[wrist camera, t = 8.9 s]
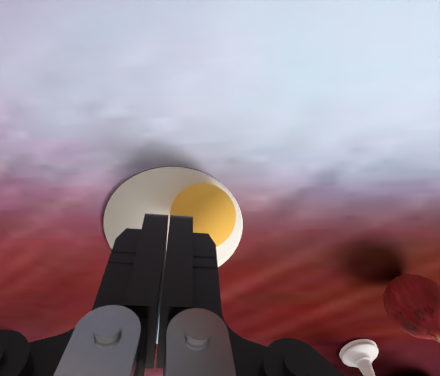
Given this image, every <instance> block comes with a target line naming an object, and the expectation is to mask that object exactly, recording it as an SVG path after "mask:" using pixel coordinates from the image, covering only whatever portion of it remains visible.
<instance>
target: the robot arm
mask: <svg viewBox="0 0 440 376" xmlns="http://www.w3.org/2000/svg"><path fill="white" fill-rule="evenodd" d="M167 231H168V215H161V214H147V213H145V216H144V220H143V224H142V229H130V228H126V229H125V230H124V231H123V232H122V233H121V234H120V235H119V236H118V237H117V238H116V239H115V242H114V245H113V248H112V252H111V254H110V257H109V260H108V265H107V266H106V269H105V272H104V275H103V278H102V281H101V284H100V287H99V291H98V294H97V297H96V300H95V303H94V306H93V308H92V310H91V311H90V312H89V313H88V314H86V315H85V316H84V317H83V318H82V319H81V320H80V321H79V322H78V324H77V326H76V327H75V328H73V329H71V330H70V331H68V332H65V333H63V334H60V335H57V336H53V337H49V338H45V339H41V340H37V341H33V342H29V343H28V341H27V339H26V338H25V337H24V336H23V335H22V334H21V333H19V332H17V331H13V330H5V329H4V330H0V376H144V372H145V368H154V359H155V350H156V341H157V332H158V347H157V363H156V368H164V369H163V376H344V375H343V374H342V373H340V372H339V371H338V370H337V369H336V368H335V367H334V366H332V365H331V364H330V363H329V362H328V361H327V360H326V359H325V358H323V357H322V356H321V355H320V354H319V353H318V352H317V351H316V350H314V349H313V348H312V347H311V346H309V345H308V344H306V343H304V342H302V341H300V340H296V339H291V338H283V339H279V340H276V341H274V342H273V343H271V344H270V345H269V346H268V347H266V346H263V345H260V344H257V343H254V342H251V341H248V340H246V339H244V338H242V337H240V336H238V335H237V334H236V333H234V332H233V331H232V330H231V329H230V328H229V327H228V325H227V324H226V322H225V320H224V318H223V315H222V310H221V298H220V287H219V275H218V264H217V252H216V244H215V243H214V241H213V240H212V238H211V237H210V235H209V234H208V233H193V217H191V216H177V215H170V223H169V232H168V241H167ZM166 246H167V249H166ZM159 315H160V316H159ZM158 324H159V331H158Z"/></svg>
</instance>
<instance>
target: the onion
mask: <svg viewBox="0 0 440 376" xmlns="http://www.w3.org/2000/svg"><path fill="white" fill-rule="evenodd" d="M383 301H384V306H385V310H386V312H387V315H388V316H389V318H390V319H391V321H392V322H393V323H394V324H396V325H397V326H398V327H399V328H400V329H402V330H403V331H405V332H406V333H408V334H410V335H412V336H414V337H417V338H423V339H434V340H436V341H438V342H440V286H439V285H438V284H436V283H435V282H434V281H432V280H429V279H427V278H424V277H422V276H419V275H410V274H405V275H400V276H397V277H395V278H394V279H393V280H392V281H391V282H390V283H389V284H388V286H387V288H386V290H385V292H384V295H383Z"/></svg>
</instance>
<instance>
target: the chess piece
mask: <svg viewBox="0 0 440 376" xmlns="http://www.w3.org/2000/svg"><path fill="white" fill-rule="evenodd" d="M339 355H340V358H341V359H342V361H343V363H344V364H345V365H347V366H351V367H357V368H359V369H360V371H361V373H362V374H363V376H375V373H374V370H373V367H372V362H373V360H375V359H376V357H377V356H378V348H377V345H376V343H375V342H374V341H372V340H369V339H358V340H354V341H351V342H349V343H348V344H346V345H345V346H344V347H343V348H342V349H341V350H340V353H339Z"/></svg>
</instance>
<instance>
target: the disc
mask: <svg viewBox="0 0 440 376" xmlns="http://www.w3.org/2000/svg"><path fill="white" fill-rule="evenodd" d="M200 183H206V184H212V185H215V186H217V187H219V188H221V189H222V190H223V191H225V192H226V193H227V194H228V196H229V197H230V198H231V200H232V202H233V204H234V207H235V211H236V221H235V226H234V229H233V231H232V233H231V235H230V236H229V237H228V239H227V240H226V241H225V242H223V243H222V244H220V245H219V246H217V247H216V252H217V264H218V267H219V266H220V265H222V264H223V263H224V262H225V261H226V260H227V259H229V257H230V256H231V255H232V254H233V252H234V251H235V249H236V248H237V246H238V244H239V242H240V239H241V235H242V229H243V221H242V215H241V210H240V208H239V205H238V203H237V201H236V199H235V197H234V196H233V195H232V193H231V192H230V191H229V190H228V189H227V188H226V187H225V186H224V185H223V184H222V183H220V182H219V181H218V180H216V179H215V178H213V177H211V176H209V175H208V174H205V173H203V172H200V171H197V170H193V169H190V168H183V167H160V168H155V169H150V170H147V171H144V172H141V173H139V174H137V175H135V176H133V177H131V178H130V179H128V180H127V181H125V182H124V183H123V184H122V185H121V186H120V187H118V188H117V190H116V191H115V192H114V193H113V195H112V196H111V198H110V200H109V201H108V204H107V207H106V209H105V213H104V223H103V226H104V233H105V236H106V239H107V241H108V244H109V246H110V247H111V249H112V248H113V245H114V242H115V239H116V238H117V237H118V236H119V235H120V234H121V233H122V232H123V231H124V230H125V229H126V228H130V229H142V224H143V220H144V216H145V213H147V214H161V215H168V231H167V241H168V232H169V223H170V210H171V206H172V203H173V201H174V200H175V198H176V197H177V195H178V194H179V193H180V192H181V191H182V190H184V189H185V188H187V187H189V186H191V185H194V184H200ZM166 249H167V246H166Z"/></svg>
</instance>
